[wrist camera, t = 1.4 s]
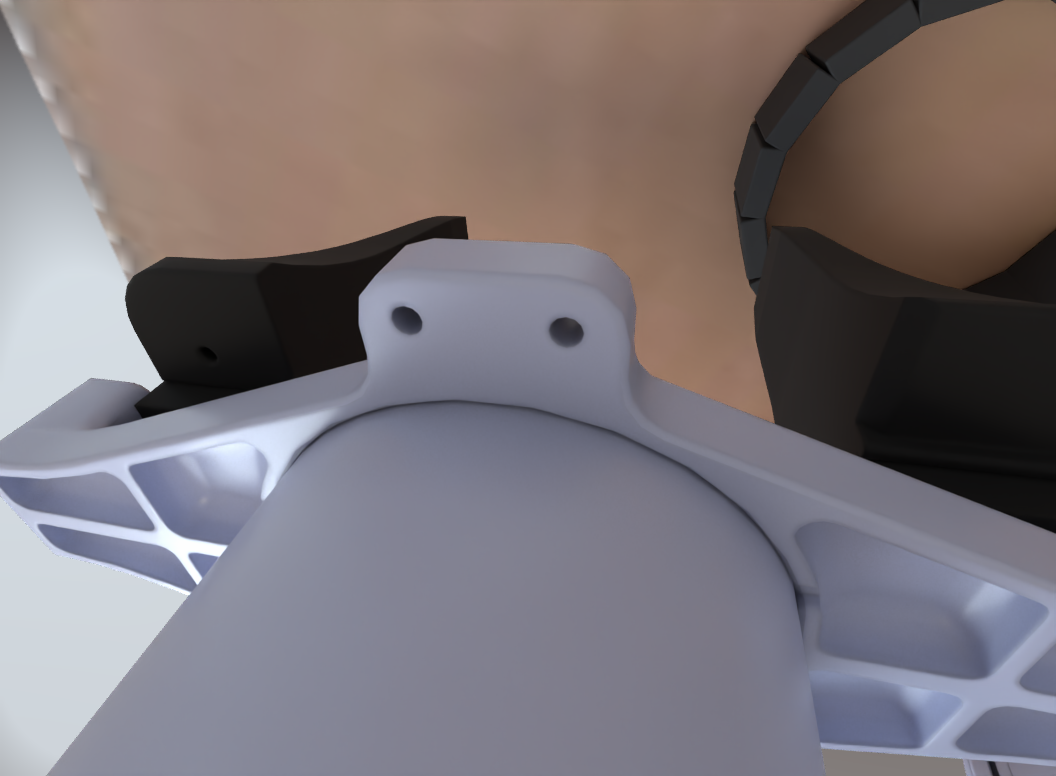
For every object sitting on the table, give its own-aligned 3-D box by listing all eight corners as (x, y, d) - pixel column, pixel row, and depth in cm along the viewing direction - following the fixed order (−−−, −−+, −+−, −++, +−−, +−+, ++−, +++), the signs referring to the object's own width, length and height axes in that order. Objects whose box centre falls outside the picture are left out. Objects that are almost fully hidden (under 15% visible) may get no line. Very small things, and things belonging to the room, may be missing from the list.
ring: (1258, 94, 16) (1369, 119, 13) (908, 369, 24) (936, 420, 21) (931, -135, 15) (983, -157, 12) (672, 232, 22) (670, 268, 20)
